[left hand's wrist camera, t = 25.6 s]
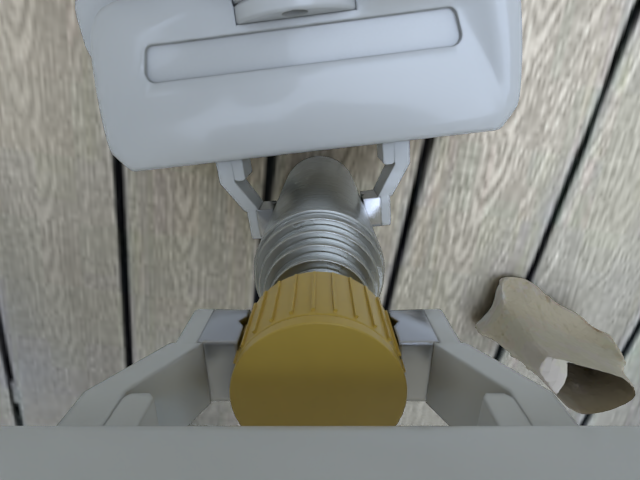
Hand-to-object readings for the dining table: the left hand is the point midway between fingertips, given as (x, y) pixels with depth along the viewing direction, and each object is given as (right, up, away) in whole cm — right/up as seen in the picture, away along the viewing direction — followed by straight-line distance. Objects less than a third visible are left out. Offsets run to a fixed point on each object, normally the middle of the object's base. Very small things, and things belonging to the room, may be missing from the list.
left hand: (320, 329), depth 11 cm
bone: (+17, -3, +19) cm, 26 cm away
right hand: (0, +3, +11) cm, 11 cm away
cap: (0, -1, -2) cm, 2 cm away
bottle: (0, +6, +16) cm, 17 cm away
